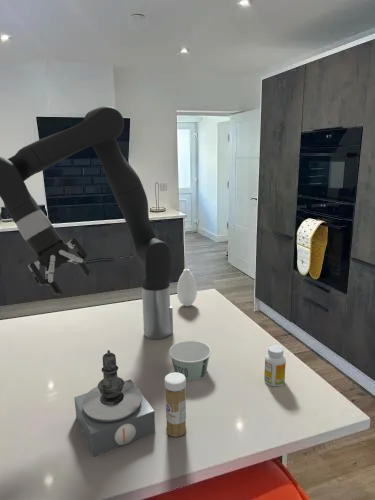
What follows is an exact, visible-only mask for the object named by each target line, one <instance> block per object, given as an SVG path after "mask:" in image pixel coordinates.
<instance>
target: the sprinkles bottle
mask: <svg viewBox="0 0 375 500" xmlns="http://www.w3.org/2000/svg"><path fill="white" fill-rule="evenodd" d="M186 385H187V380H186V378H185V376H184V375H183V374H181V373H177V372H174V371H173V372H170V373H168V374H167V375H166V376H165V377H164V387H165V417H166V428H165V429H166V430H165V431H166V433H167V434H168V435H169V436H171V437H174V438H176V437H177V438H178V437H182V436H183V435H184V434H185V433H187V426H186V424H187V423H186V418H187V416H186V415H187V412H186V411H187V407H186V406H187V404H186V403H187V400H186V398H187V397H186Z"/></svg>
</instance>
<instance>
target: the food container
mask: <svg viewBox="0 0 375 500" xmlns="http://www.w3.org/2000/svg"><path fill="white" fill-rule="evenodd" d="M168 355H169V357H170V358H171V362H172V363H171V364H172V368H173V373H174V372H177V373H181V374H183V375H184V376H185V378H186V381H196V380H200V379H202V378H203V377H205V376H206V374H207V371H208V367H209V360H210V356H211V355H212V349H211V347H210V345H208V344H207V343H205V342H202V341H197V340H184V341H183V340H182V341H179V342H176V343H174V344H173V345H171V346H170V348H169V349H168Z"/></svg>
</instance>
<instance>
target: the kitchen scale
mask: <svg viewBox="0 0 375 500" xmlns="http://www.w3.org/2000/svg"><path fill="white" fill-rule="evenodd" d="M124 382H128V383H131V384H134V385H135V386H136V384H135V383H134V381H133V380H132V379H128V380H124ZM87 393H88V392H87ZM87 393H83V394H81V395H77V396H74V397H73V399H74V408H75V417H76V420H77V423H78V425H79V426H80V429H81V431H82V434H83V436H84V438H85V441H86V443H87V445H88V448H89V450H90V452H91V455H92V457H95V456H98V455H101V454H104V453H106V452H109V451H111V450H113V449H115V448H116V449H117V448H118V447H120V446H123V445H127V444H129V443H131V442H133V441H136V440H139V439H141V438H142V437H143V438H144V437H146V436H149V435H151V434H153V433H155V432H156V424H155V423H156V420H155V418H156V417H155V410H154V409H153V407H152V406H151V404H150V403H149V402H148V400H147V399H146V398H145V396H144V394H142V403H141V406H140V408H139V409H138V410H137V412H135V413H134V414H133V415H131V416H130V417H128V418H126V419H124V420H121V421H117V422H110V423H103V422H97V421H94V420H92V419H90V418H88V417H87V416H86V415H85V413H84V410H83V400H84V397H85V396H86V394H87Z"/></svg>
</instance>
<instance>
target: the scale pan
mask: <svg viewBox="0 0 375 500" xmlns="http://www.w3.org/2000/svg"><path fill="white" fill-rule="evenodd" d="M134 384H135V383H134ZM134 384H131V383H128V382H124V386H123V389H122V393H123V395H124V398H123V400H122V401H121V402H120V403H118V404H116V405H111V406H108V405H104V404H102V403H101V401H100V397H101V396H102V394H101V393H100V391H99V389H98V385H96V386H95V387H93V388H92V389H91V390H89V391H88V392H87V394H86V393H85V394H86V396H85V397H84V400H83V410H84V413H85V415H86V416H87V417H88V418H90V419H92V420H94V421H97V422H103V423H110V422H117V421H121V420H124V419H126V418H128V417H130V416H131V415H133V414H134V413H135V412H137V410H138V409H139V408H140V406H141V403H142V395H143V394H142V391H141V389H140V388H139V387H138V386H137V385H136V384H135V385H134Z"/></svg>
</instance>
